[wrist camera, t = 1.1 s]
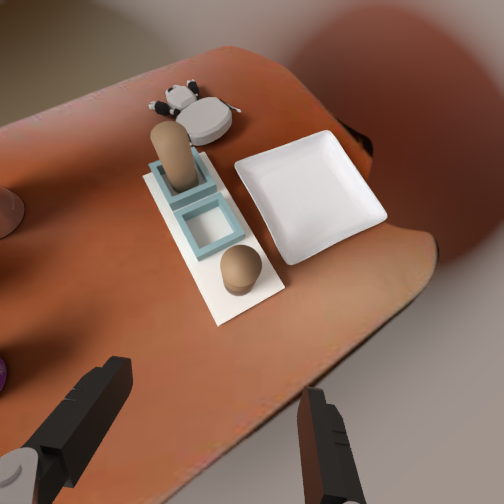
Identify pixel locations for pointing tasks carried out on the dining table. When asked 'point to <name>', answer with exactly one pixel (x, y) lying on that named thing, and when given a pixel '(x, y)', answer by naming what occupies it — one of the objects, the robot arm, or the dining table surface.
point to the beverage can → (2, 373)
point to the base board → (203, 220)
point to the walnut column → (240, 269)
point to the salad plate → (309, 195)
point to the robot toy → (196, 113)
